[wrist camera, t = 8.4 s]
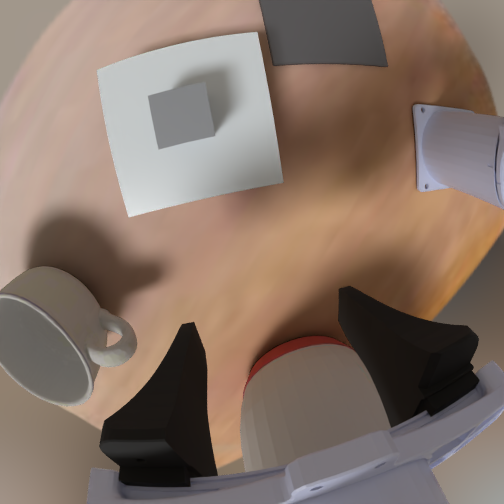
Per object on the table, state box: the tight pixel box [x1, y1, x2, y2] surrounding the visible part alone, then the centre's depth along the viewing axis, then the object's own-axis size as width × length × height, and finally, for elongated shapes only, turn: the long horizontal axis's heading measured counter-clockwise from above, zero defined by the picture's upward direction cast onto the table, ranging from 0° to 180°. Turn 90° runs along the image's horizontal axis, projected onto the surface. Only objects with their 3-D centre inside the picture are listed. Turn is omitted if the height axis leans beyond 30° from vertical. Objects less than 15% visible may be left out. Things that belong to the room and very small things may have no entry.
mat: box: [259, 0, 388, 67], centre depth 14 cm, size 10×10×1 cm
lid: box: [97, 32, 284, 217], centre depth 12 cm, size 9×9×4 cm
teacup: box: [0, 266, 137, 406], centre depth 18 cm, size 14×11×8 cm
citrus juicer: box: [240, 336, 391, 472], centre depth 20 cm, size 16×17×20 cm
